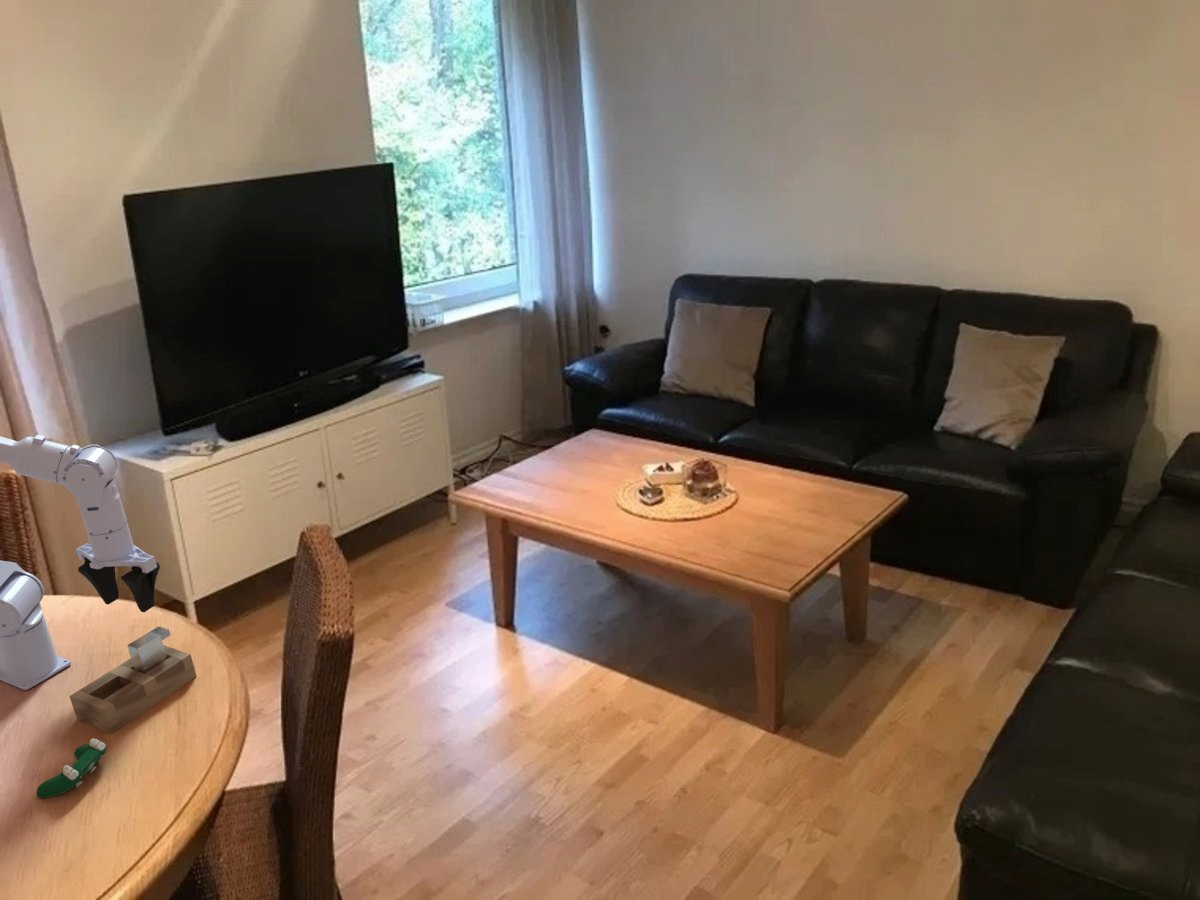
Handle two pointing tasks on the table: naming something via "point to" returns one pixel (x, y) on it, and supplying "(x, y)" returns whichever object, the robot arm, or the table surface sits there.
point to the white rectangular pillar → (149, 650)
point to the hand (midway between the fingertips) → (129, 605)
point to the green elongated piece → (73, 770)
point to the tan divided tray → (130, 691)
